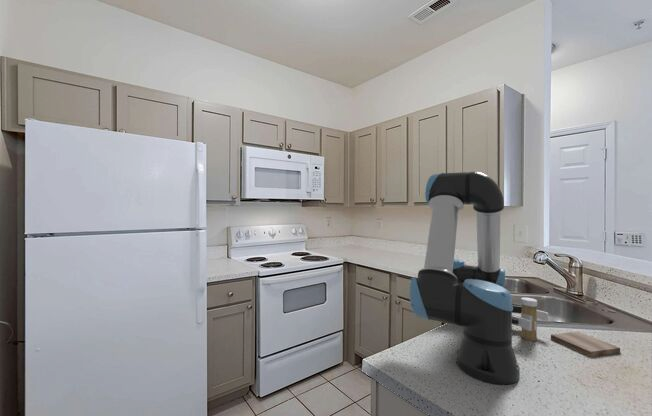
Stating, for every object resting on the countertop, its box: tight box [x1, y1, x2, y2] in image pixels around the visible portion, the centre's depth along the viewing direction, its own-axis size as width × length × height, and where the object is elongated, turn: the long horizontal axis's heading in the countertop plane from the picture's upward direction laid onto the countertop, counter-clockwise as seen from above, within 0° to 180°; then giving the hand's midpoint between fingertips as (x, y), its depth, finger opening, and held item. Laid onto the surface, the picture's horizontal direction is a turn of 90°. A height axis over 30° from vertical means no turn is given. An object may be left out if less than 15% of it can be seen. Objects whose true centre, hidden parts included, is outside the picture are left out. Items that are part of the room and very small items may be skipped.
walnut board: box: [550, 331, 621, 358], centre depth 92 cm, size 12×12×2 cm
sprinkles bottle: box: [520, 297, 538, 342], centre depth 97 cm, size 5×5×13 cm
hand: (539, 320), depth 95 cm, fingers open, 13 cm apart
